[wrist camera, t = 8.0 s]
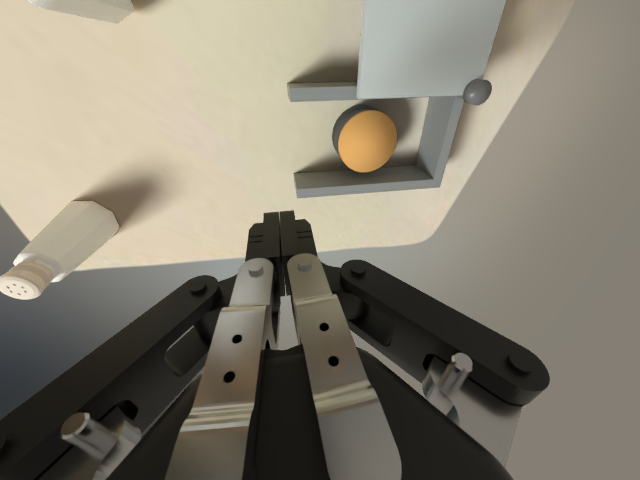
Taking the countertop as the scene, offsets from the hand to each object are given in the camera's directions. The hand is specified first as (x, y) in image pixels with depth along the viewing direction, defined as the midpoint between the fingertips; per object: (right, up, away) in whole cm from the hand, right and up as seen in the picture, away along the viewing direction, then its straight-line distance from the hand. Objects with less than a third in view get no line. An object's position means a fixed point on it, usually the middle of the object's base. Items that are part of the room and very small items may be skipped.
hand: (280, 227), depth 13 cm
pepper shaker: (-24, +2, +17) cm, 29 cm away
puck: (+6, +11, +16) cm, 20 cm away
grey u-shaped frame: (+6, +11, +15) cm, 20 cm away
